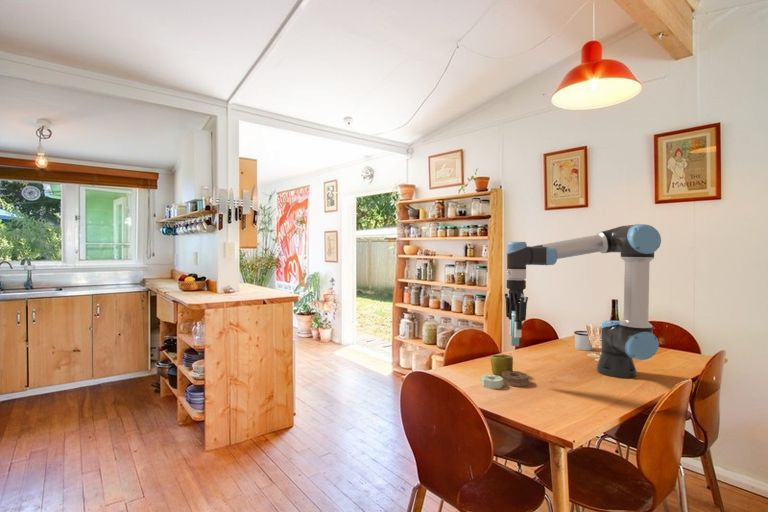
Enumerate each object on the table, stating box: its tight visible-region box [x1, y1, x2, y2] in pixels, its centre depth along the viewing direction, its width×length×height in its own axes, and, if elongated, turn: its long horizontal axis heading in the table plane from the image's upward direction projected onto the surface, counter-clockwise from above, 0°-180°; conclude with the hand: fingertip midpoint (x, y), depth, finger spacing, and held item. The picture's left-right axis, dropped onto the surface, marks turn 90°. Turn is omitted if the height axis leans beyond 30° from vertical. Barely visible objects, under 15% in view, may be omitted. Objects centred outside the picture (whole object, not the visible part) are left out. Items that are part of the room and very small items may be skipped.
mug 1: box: [490, 353, 514, 377], centre depth 178 cm, size 12×10×10 cm
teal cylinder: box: [510, 311, 520, 347], centre depth 166 cm, size 3×3×14 cm
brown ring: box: [501, 370, 529, 388], centre depth 166 cm, size 10×10×3 cm
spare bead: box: [480, 374, 504, 390], centre depth 163 cm, size 8×8×3 cm
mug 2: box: [573, 330, 593, 352], centre depth 221 cm, size 12×10×9 cm
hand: (515, 336), depth 166 cm, fingers closed on teal cylinder, 3 cm apart
